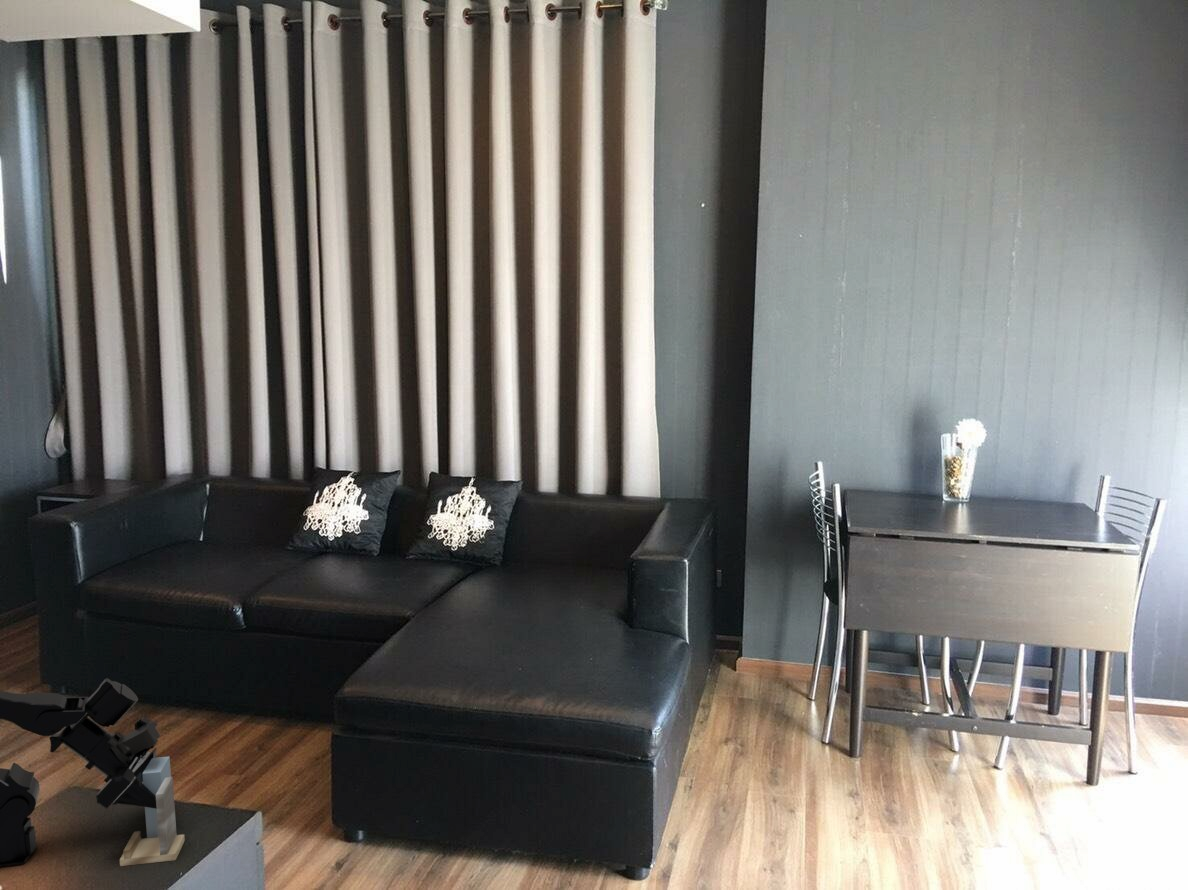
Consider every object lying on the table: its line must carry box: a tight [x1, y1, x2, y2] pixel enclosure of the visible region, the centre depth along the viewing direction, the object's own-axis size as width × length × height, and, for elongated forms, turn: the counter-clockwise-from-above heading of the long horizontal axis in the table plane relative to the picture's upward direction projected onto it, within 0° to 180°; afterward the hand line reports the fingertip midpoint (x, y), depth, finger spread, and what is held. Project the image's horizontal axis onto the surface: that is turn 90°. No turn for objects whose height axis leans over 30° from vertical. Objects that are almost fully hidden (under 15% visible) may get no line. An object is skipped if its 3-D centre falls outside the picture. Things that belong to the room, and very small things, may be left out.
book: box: [142, 755, 172, 838], centre depth 173 cm, size 3×6×13 cm, turn 11°
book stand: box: [119, 776, 186, 867], centre depth 166 cm, size 9×6×12 cm
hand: (165, 797), depth 173 cm, fingers closed on book, 6 cm apart
